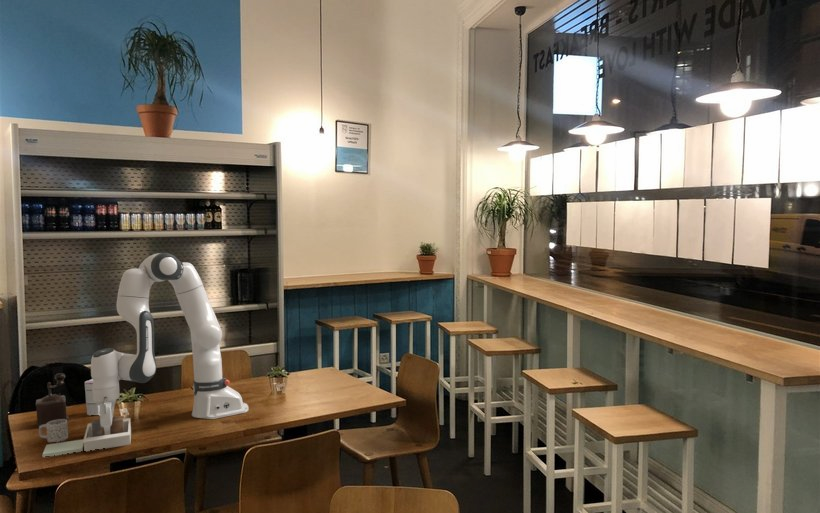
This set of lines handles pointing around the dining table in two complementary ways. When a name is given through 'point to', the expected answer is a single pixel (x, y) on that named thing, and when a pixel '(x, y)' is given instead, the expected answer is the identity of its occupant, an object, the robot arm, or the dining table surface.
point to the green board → (63, 448)
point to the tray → (107, 438)
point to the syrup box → (91, 400)
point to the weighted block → (114, 428)
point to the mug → (55, 430)
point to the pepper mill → (52, 404)
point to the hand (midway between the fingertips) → (108, 431)
